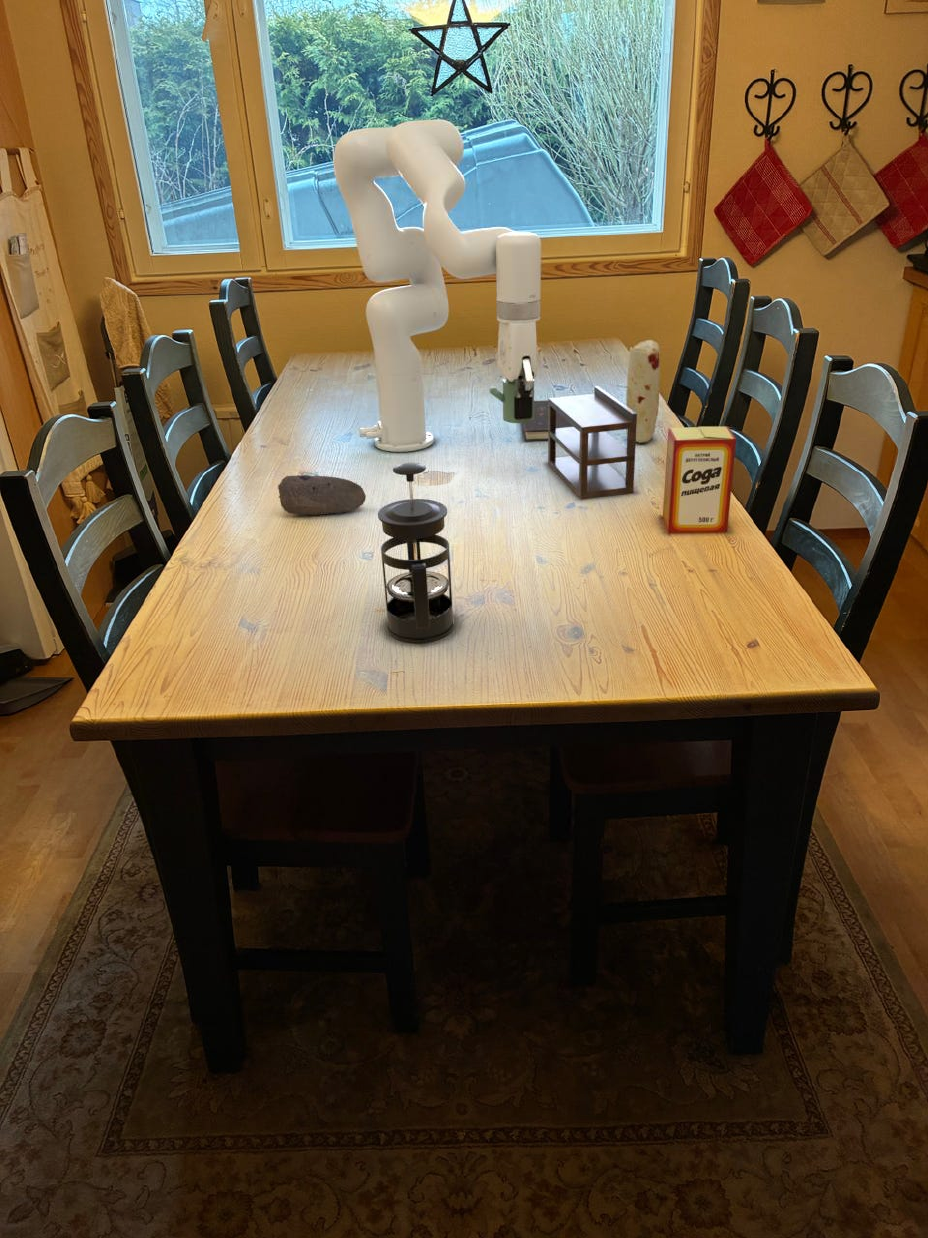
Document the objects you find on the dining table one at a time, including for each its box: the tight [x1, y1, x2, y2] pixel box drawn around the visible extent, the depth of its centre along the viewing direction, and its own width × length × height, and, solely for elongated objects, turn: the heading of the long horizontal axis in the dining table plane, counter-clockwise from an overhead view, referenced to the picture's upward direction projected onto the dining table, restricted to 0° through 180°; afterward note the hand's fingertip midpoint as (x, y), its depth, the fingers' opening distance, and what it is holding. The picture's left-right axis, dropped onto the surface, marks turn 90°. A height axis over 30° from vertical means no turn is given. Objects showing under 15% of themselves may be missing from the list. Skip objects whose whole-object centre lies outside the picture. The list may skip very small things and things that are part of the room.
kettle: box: [489, 376, 535, 424], centre depth 168 cm, size 8×6×9 cm
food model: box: [625, 339, 661, 444], centre depth 192 cm, size 10×7×20 cm
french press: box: [377, 462, 456, 644], centre depth 123 cm, size 12×9×23 cm
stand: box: [547, 385, 637, 500], centre depth 174 cm, size 10×20×15 cm, turn 12°
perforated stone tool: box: [277, 474, 367, 516], centre depth 166 cm, size 15×5×7 cm, turn 89°
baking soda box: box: [662, 425, 737, 534], centre depth 152 cm, size 10×6×16 cm
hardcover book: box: [521, 399, 574, 442], centre depth 208 cm, size 16×23×2 cm
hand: (518, 412), depth 170 cm, fingers closed on kettle, 5 cm apart
